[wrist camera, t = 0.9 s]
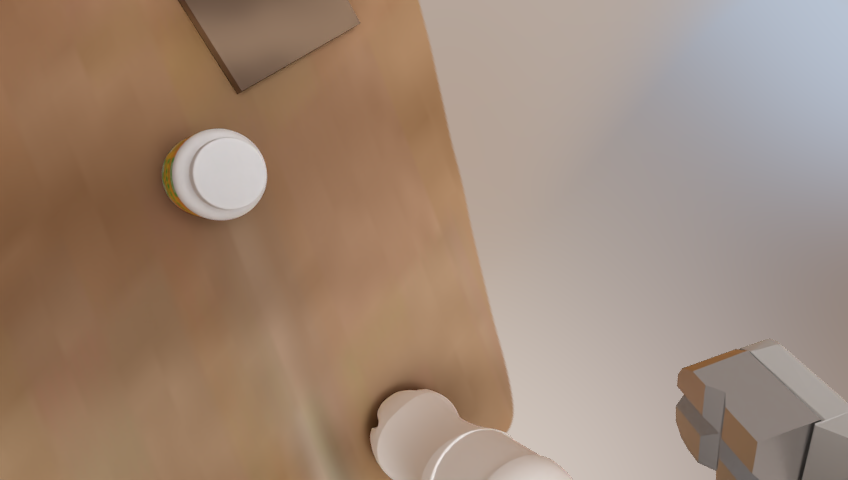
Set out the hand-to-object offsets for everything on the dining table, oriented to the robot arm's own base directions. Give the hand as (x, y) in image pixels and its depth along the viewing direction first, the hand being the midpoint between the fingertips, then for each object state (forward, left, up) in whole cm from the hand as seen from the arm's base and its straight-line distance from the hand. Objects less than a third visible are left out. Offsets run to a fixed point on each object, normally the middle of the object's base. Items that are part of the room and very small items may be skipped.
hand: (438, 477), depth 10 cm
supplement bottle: (-3, +5, -38) cm, 39 cm away
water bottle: (+21, +7, -38) cm, 44 cm away
